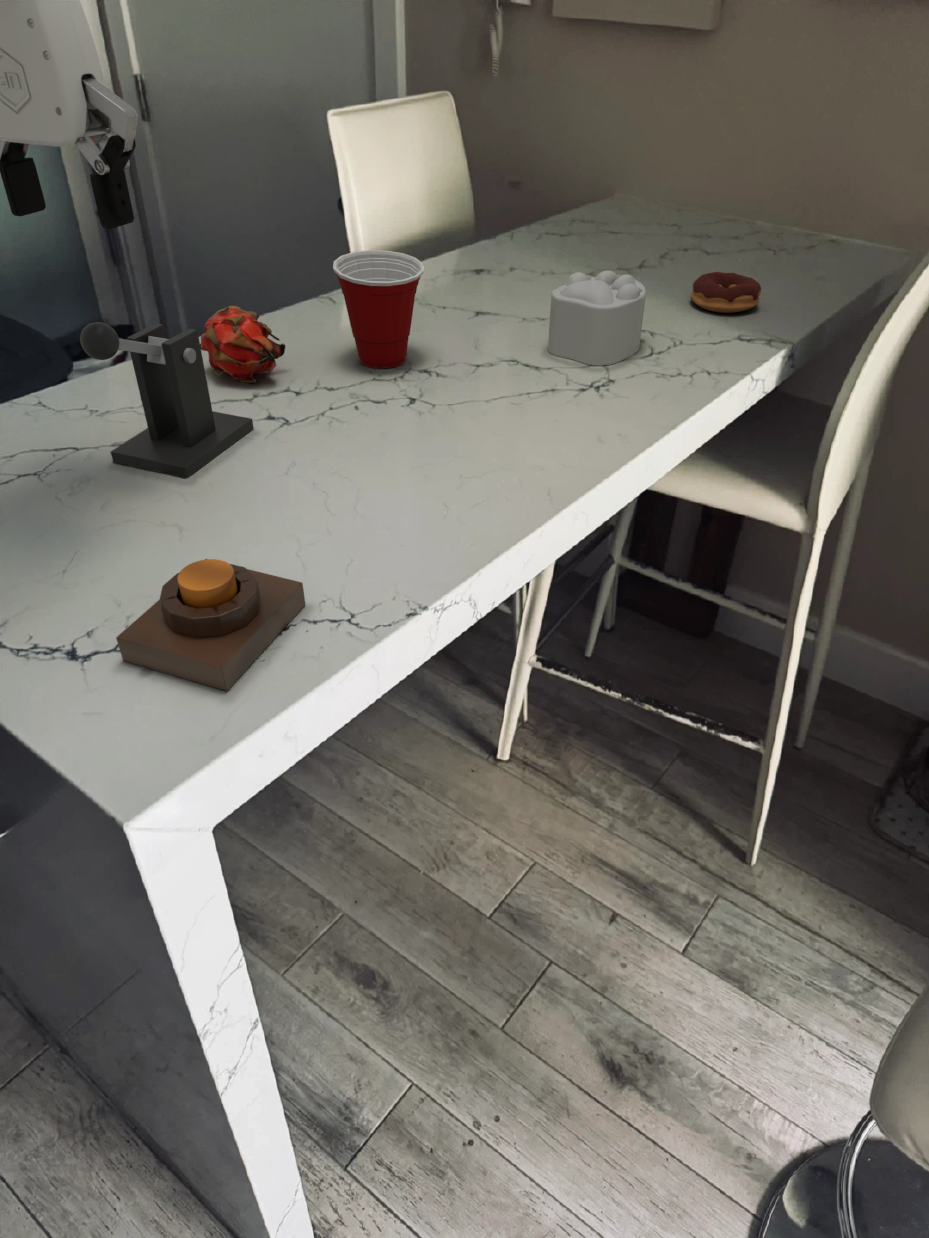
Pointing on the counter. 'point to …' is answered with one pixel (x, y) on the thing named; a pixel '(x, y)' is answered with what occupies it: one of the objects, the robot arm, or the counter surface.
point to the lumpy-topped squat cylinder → (596, 318)
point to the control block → (212, 629)
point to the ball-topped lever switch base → (177, 410)
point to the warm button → (207, 583)
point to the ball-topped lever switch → (117, 344)
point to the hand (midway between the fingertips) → (73, 219)
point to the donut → (725, 292)
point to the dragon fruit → (240, 344)
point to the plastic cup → (379, 302)
